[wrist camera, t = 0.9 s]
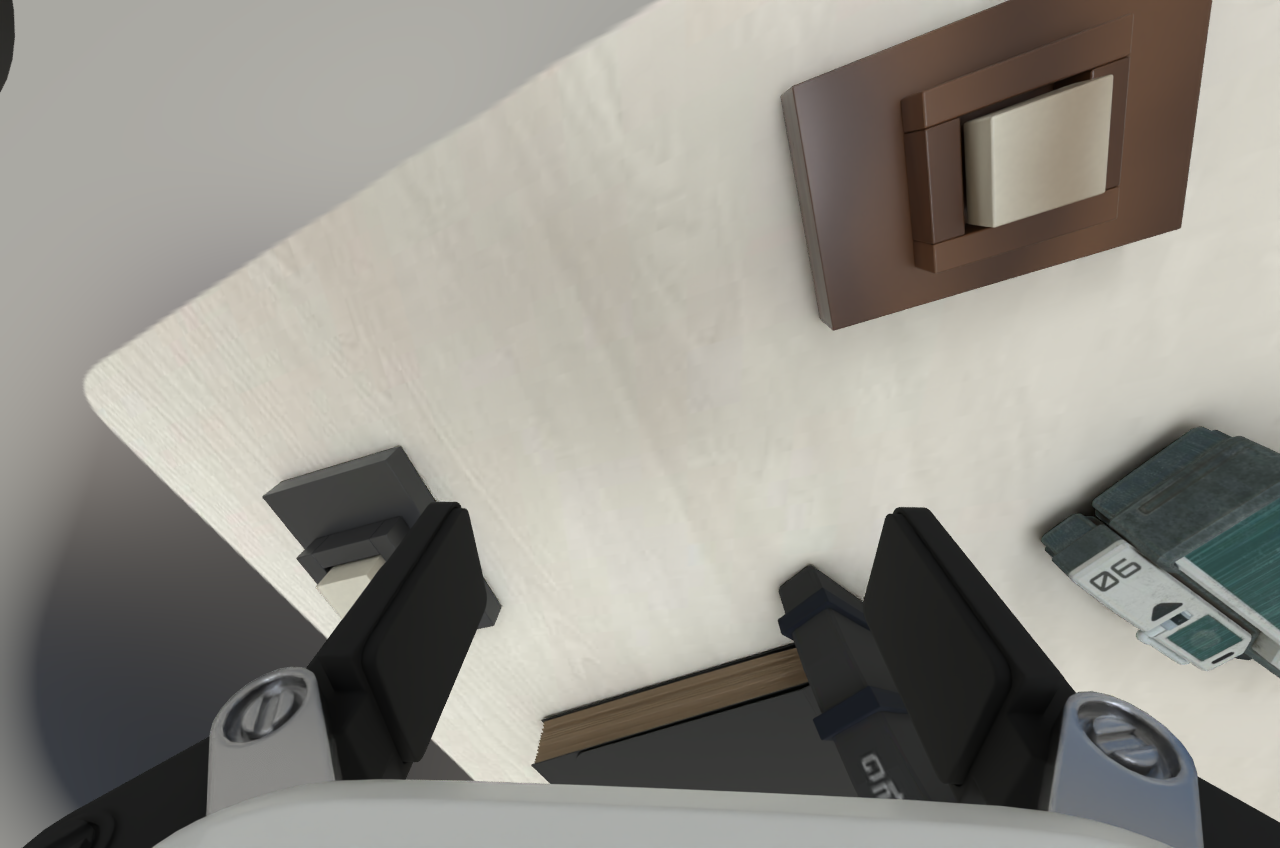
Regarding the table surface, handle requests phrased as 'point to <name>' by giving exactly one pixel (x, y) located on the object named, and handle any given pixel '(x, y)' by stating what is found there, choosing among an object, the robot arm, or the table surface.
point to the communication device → (1187, 550)
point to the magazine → (856, 692)
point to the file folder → (702, 735)
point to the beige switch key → (1038, 153)
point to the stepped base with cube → (356, 513)
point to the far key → (348, 582)
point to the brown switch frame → (935, 154)
